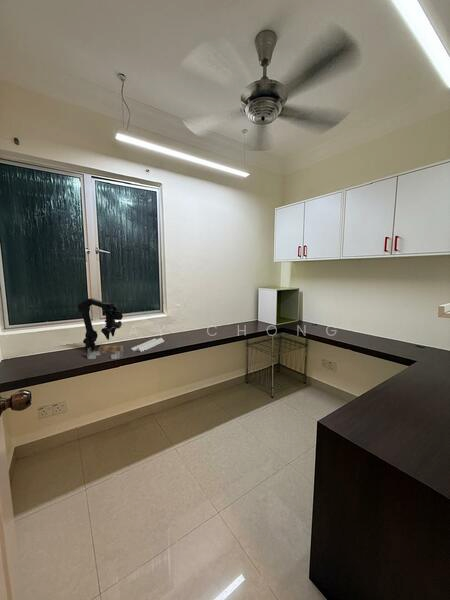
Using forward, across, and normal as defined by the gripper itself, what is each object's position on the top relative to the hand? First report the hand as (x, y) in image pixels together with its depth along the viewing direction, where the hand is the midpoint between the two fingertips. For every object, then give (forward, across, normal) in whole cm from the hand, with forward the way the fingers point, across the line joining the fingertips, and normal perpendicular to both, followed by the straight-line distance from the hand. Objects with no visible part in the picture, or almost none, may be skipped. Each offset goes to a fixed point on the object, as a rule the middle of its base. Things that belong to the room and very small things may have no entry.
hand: (110, 338), depth 198 cm
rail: (+12, 0, 0) cm, 12 cm away
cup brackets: (+12, -10, 0) cm, 16 cm away
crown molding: (+12, +16, -25) cm, 33 cm away
